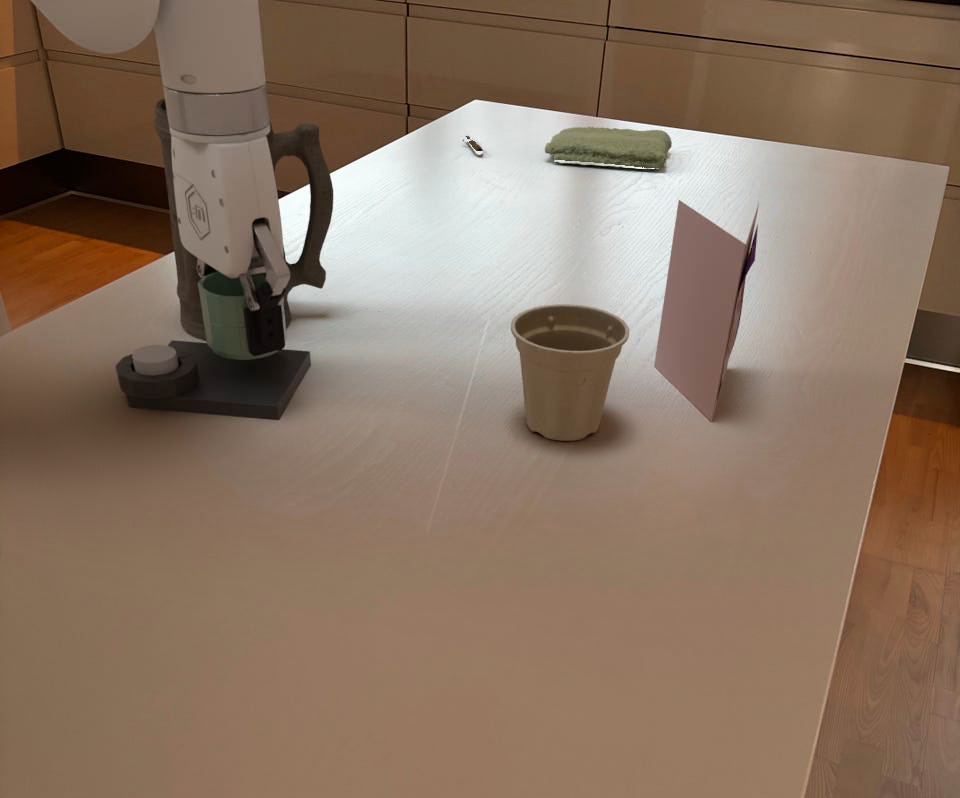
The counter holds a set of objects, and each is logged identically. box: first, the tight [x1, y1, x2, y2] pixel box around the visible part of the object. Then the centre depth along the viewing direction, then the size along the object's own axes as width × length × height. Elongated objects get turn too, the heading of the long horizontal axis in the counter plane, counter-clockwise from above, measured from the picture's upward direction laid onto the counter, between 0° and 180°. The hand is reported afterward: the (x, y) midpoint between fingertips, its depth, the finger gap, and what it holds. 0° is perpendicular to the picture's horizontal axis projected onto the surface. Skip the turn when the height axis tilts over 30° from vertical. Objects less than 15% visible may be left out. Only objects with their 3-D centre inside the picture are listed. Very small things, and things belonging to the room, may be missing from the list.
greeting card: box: [653, 199, 760, 422], centre depth 88 cm, size 11×7×15 cm, turn 163°
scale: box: [115, 339, 312, 421], centre depth 89 cm, size 14×12×3 cm
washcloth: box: [544, 126, 673, 169], centre depth 151 cm, size 13×18×3 cm
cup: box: [198, 268, 287, 360], centre depth 88 cm, size 7×7×6 cm
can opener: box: [462, 135, 484, 152], centre depth 153 cm, size 9×2×1 cm, turn 8°
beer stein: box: [154, 97, 334, 341], centre depth 96 cm, size 15×11×20 cm
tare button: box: [131, 344, 179, 376], centre depth 86 cm, size 4×4×1 cm
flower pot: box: [510, 303, 630, 442], centre depth 84 cm, size 9×9×9 cm
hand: (245, 334), depth 89 cm, fingers closed on cup, 6 cm apart
